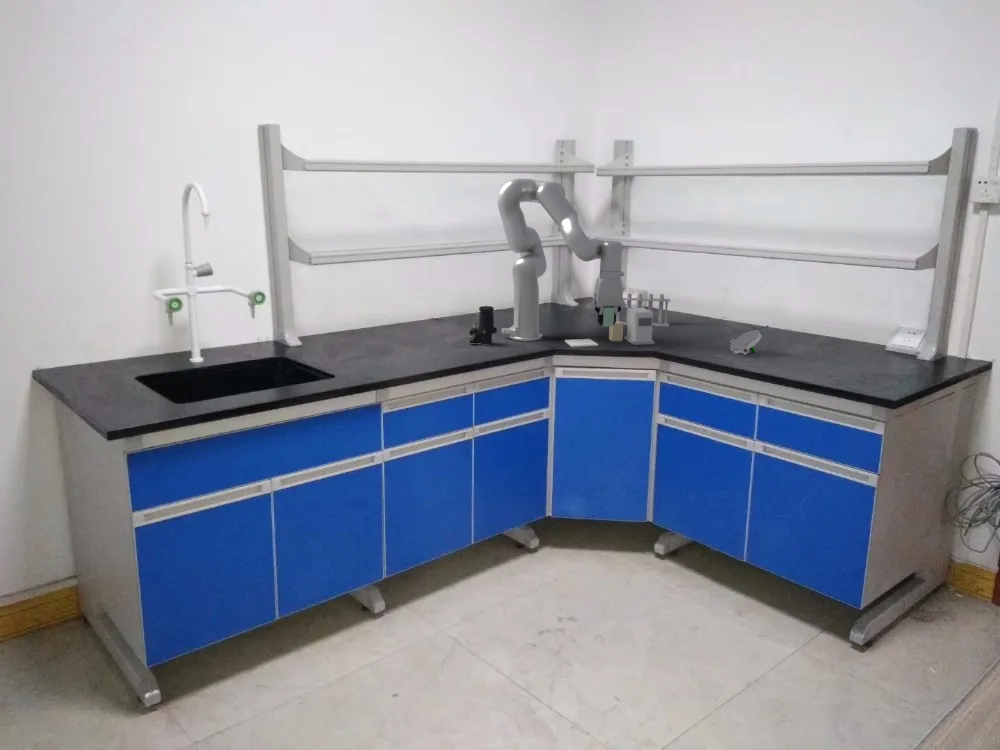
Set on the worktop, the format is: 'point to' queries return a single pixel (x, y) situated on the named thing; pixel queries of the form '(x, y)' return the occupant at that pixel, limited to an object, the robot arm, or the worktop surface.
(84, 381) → the worktop surface
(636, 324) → the bench unit
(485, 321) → the scope
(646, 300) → the test tube rack
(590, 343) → the mat
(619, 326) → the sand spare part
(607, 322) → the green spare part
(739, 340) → the grey tilted oval device
